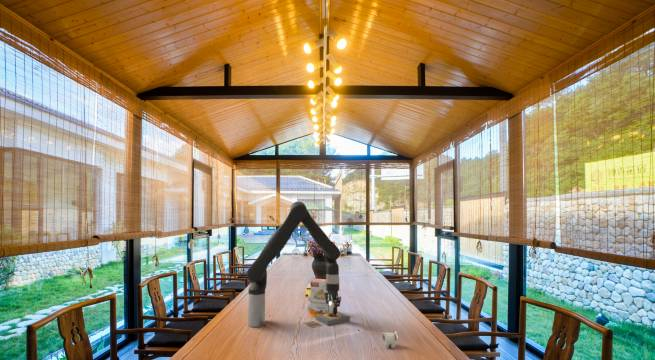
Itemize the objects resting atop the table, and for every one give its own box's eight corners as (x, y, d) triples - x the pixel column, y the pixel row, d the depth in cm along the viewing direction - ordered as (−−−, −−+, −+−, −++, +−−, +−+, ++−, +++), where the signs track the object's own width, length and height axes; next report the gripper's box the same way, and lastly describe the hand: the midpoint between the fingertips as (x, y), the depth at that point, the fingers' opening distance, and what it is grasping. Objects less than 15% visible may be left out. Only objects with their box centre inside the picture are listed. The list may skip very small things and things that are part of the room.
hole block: (315, 322, 210) (315, 315, 210) (337, 318, 218) (337, 310, 218) (327, 328, 200) (327, 320, 200) (349, 323, 208) (349, 315, 208)
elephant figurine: (394, 342, 180) (394, 327, 180) (399, 350, 170) (399, 334, 171) (379, 342, 179) (379, 327, 180) (382, 350, 170) (382, 334, 170)
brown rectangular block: (302, 325, 204) (302, 323, 204) (313, 323, 208) (313, 321, 208) (312, 331, 196) (312, 328, 196) (323, 328, 200) (323, 325, 200)
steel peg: (327, 315, 210) (327, 301, 210) (333, 314, 212) (333, 300, 213) (331, 317, 206) (331, 302, 207) (337, 316, 209) (337, 301, 209)
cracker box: (310, 315, 225) (310, 280, 226) (313, 312, 230) (313, 278, 232) (332, 317, 220) (332, 281, 222) (335, 314, 226) (334, 279, 228)
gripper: (320, 280, 214) (320, 311, 213) (334, 285, 203) (334, 317, 201) (331, 279, 219) (331, 309, 217) (345, 283, 207) (345, 314, 205)
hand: (332, 312), depth 209 cm, fingers closed on steel peg, 4 cm apart
